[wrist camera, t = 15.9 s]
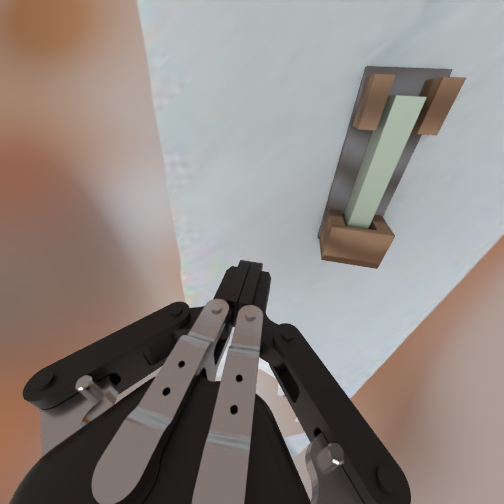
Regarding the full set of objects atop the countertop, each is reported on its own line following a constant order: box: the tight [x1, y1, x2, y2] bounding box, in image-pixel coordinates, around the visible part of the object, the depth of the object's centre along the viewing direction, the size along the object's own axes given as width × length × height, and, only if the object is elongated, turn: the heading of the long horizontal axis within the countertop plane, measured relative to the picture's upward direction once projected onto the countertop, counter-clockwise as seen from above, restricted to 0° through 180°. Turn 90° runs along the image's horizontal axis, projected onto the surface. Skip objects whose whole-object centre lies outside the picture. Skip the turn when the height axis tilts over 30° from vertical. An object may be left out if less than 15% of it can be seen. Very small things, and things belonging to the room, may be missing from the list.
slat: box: [343, 95, 427, 229], centre depth 30 cm, size 20×3×4 cm, turn 178°
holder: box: [318, 66, 466, 269], centre depth 29 cm, size 24×9×8 cm, turn 178°
